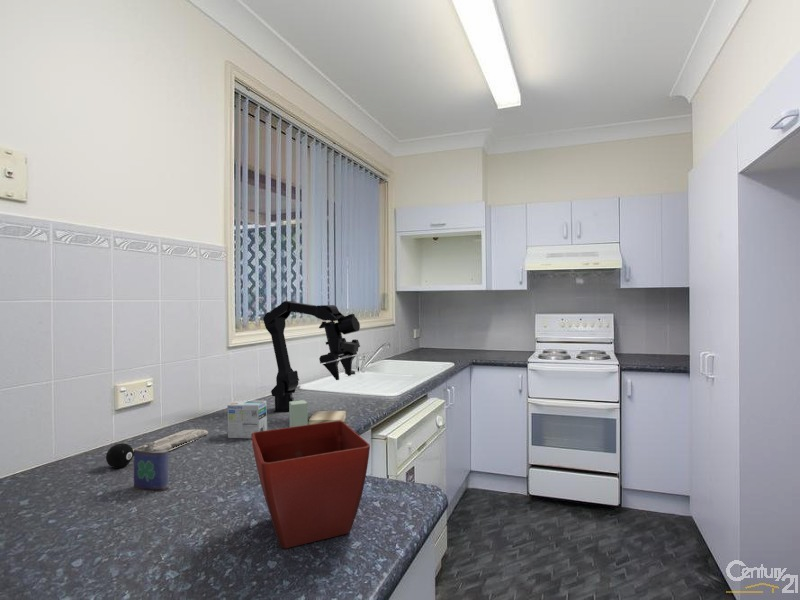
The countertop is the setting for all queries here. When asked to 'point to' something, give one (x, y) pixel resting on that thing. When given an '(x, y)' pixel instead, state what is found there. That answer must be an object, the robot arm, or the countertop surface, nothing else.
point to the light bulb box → (246, 418)
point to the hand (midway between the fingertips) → (343, 377)
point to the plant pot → (311, 479)
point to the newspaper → (177, 439)
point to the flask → (151, 468)
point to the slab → (327, 416)
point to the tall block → (298, 413)
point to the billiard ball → (119, 455)
